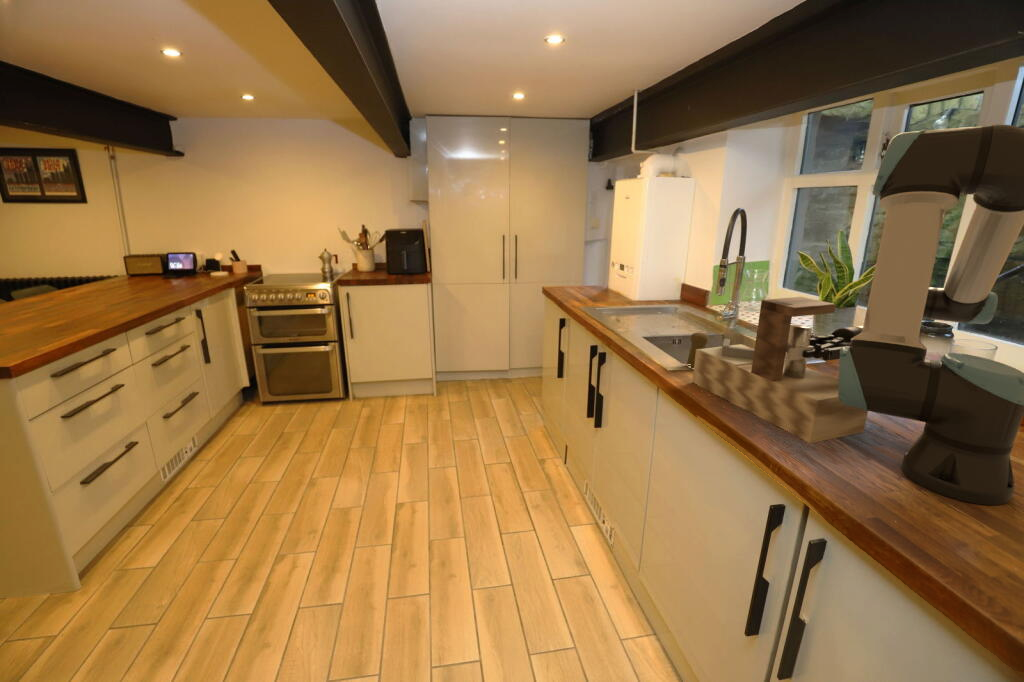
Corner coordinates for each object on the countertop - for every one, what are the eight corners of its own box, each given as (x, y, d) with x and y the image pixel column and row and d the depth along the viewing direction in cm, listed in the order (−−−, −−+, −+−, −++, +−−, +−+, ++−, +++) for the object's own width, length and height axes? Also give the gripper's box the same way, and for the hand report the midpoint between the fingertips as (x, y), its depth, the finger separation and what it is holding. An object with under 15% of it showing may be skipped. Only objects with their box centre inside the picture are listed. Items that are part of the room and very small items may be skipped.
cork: (703, 371, 145) (707, 337, 142) (683, 367, 148) (687, 334, 145) (708, 366, 149) (712, 332, 146) (689, 362, 153) (693, 329, 150)
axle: (807, 378, 110) (815, 329, 107) (787, 377, 111) (794, 328, 108) (800, 372, 114) (807, 324, 111) (780, 371, 115) (787, 324, 112)
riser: (863, 432, 106) (872, 390, 103) (809, 443, 101) (818, 400, 98) (736, 376, 141) (741, 344, 138) (692, 382, 136) (696, 349, 133)
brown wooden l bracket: (821, 379, 110) (836, 303, 105) (781, 385, 107) (795, 307, 102) (788, 367, 118) (800, 296, 113) (751, 372, 115) (761, 300, 110)
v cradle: (778, 360, 124) (780, 349, 123) (735, 366, 119) (737, 355, 119) (738, 345, 136) (739, 336, 136) (698, 350, 132) (699, 340, 131)
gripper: (887, 367, 109) (811, 379, 102) (819, 346, 125) (749, 355, 118) (894, 336, 107) (817, 346, 100) (824, 319, 123) (753, 326, 116)
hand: (780, 351), depth 109 cm, fingers closed on axle, 4 cm apart
